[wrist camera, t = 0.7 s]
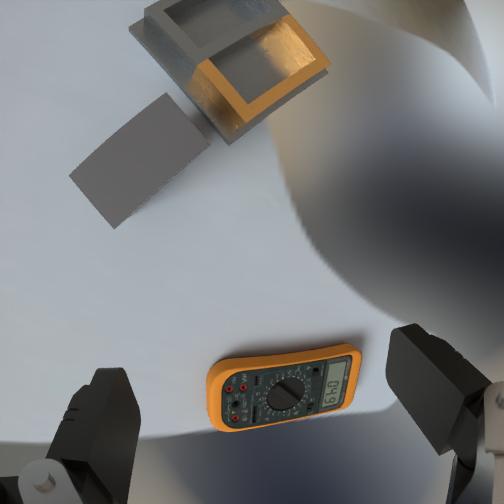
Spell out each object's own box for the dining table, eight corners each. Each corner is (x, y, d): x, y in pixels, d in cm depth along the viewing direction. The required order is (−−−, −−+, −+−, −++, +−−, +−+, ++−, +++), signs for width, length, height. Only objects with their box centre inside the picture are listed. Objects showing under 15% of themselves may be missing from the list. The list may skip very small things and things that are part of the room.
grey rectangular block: (128, 217, 28) (114, 229, 16) (100, 185, 26) (68, 175, 15) (185, 166, 28) (210, 144, 17) (158, 133, 27) (166, 92, 16)
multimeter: (203, 356, 32) (210, 372, 29) (350, 338, 38) (366, 349, 35) (205, 419, 33) (211, 437, 30) (339, 395, 39) (353, 408, 36)
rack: (228, 145, 29) (239, 138, 26) (128, 30, 24) (127, 11, 21) (324, 75, 31) (343, 64, 28) (235, -25, 26) (245, -43, 22)
